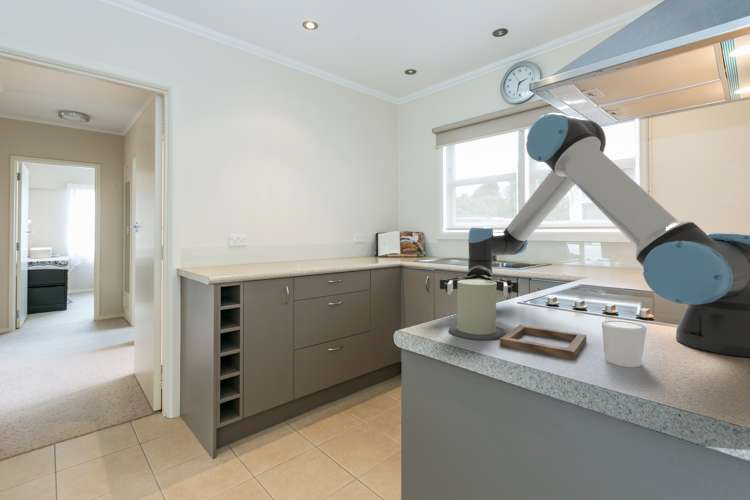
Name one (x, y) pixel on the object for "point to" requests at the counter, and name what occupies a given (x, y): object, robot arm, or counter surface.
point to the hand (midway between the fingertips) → (476, 290)
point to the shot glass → (623, 343)
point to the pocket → (568, 353)
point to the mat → (494, 336)
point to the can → (476, 306)
